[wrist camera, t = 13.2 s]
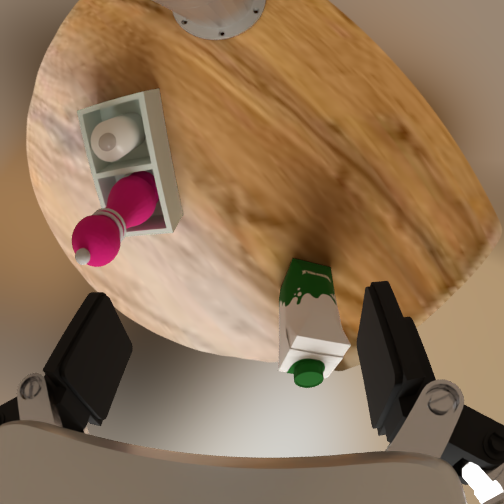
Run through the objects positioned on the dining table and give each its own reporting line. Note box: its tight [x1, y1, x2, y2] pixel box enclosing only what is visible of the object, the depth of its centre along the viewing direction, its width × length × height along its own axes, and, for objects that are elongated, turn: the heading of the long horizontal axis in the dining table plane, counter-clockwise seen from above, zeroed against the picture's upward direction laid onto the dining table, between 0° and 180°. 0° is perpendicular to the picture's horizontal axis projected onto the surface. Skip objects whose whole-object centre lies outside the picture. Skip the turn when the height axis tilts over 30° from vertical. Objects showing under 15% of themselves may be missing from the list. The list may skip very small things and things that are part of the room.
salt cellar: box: [91, 112, 146, 162], centre depth 38 cm, size 6×6×8 cm
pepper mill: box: [72, 171, 159, 267], centre depth 38 cm, size 7×7×20 cm
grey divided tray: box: [77, 88, 183, 237], centre depth 42 cm, size 20×11×6 cm, turn 6°
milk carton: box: [278, 258, 351, 388], centre depth 46 cm, size 9×9×20 cm
